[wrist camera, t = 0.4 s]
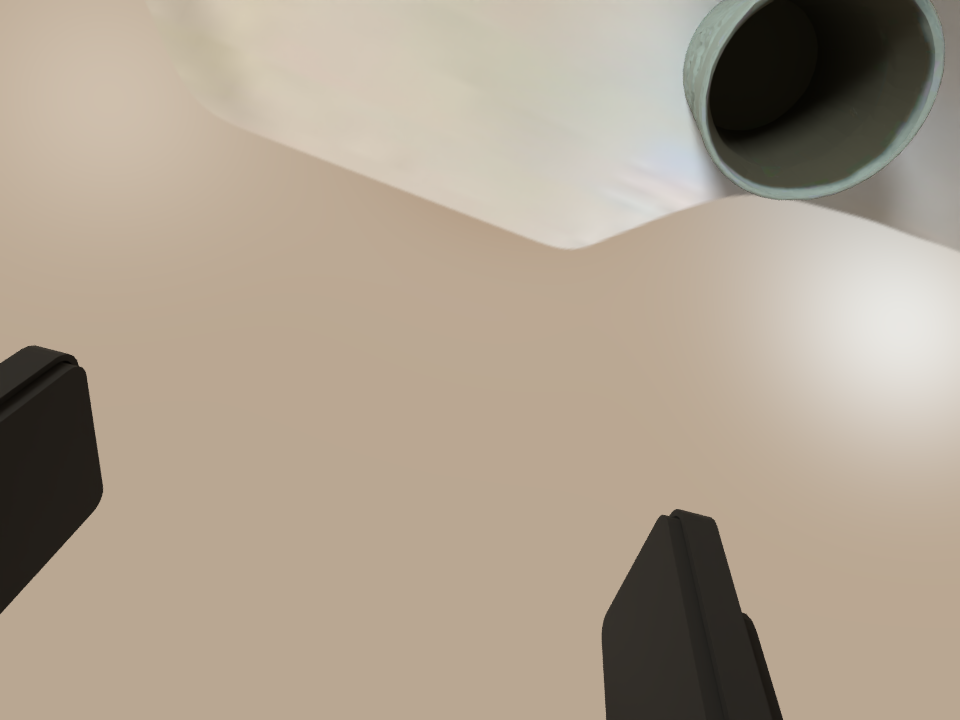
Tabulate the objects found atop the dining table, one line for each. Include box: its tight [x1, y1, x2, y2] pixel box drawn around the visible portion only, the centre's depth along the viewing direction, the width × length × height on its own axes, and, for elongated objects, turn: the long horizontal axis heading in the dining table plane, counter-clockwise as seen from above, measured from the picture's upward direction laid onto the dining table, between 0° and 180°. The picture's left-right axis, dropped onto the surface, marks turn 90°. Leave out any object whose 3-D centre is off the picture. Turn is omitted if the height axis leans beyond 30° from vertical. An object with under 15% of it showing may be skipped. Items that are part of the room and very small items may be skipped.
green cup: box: [683, 0, 945, 200], centre depth 33 cm, size 10×10×12 cm
